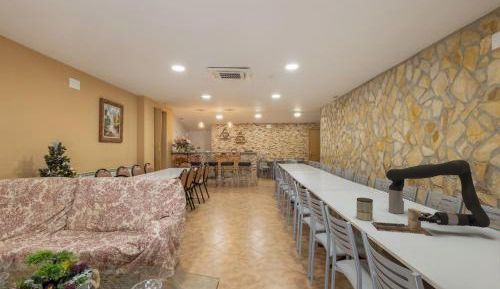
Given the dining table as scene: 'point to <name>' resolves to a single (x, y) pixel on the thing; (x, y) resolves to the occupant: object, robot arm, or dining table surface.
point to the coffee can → (365, 209)
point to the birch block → (414, 219)
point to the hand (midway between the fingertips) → (415, 216)
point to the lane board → (397, 228)
